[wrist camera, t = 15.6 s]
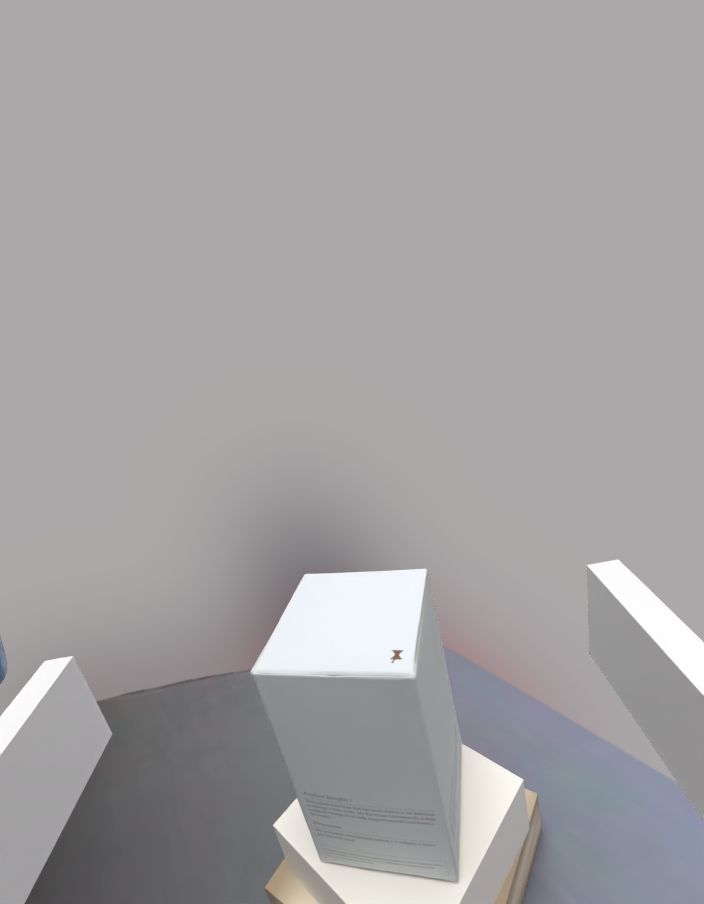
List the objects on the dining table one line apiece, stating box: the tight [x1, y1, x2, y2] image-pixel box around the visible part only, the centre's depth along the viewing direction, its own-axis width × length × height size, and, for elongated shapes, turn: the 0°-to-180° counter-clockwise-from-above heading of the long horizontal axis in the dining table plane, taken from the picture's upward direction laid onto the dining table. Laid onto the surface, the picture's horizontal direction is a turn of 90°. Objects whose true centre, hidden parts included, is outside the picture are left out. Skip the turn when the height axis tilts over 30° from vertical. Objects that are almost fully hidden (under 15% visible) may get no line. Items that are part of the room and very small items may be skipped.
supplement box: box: [251, 569, 462, 881], centre depth 24 cm, size 7×7×13 cm
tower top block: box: [273, 744, 529, 904], centre depth 26 cm, size 10×10×4 cm
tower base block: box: [265, 789, 542, 904], centre depth 28 cm, size 12×12×4 cm
